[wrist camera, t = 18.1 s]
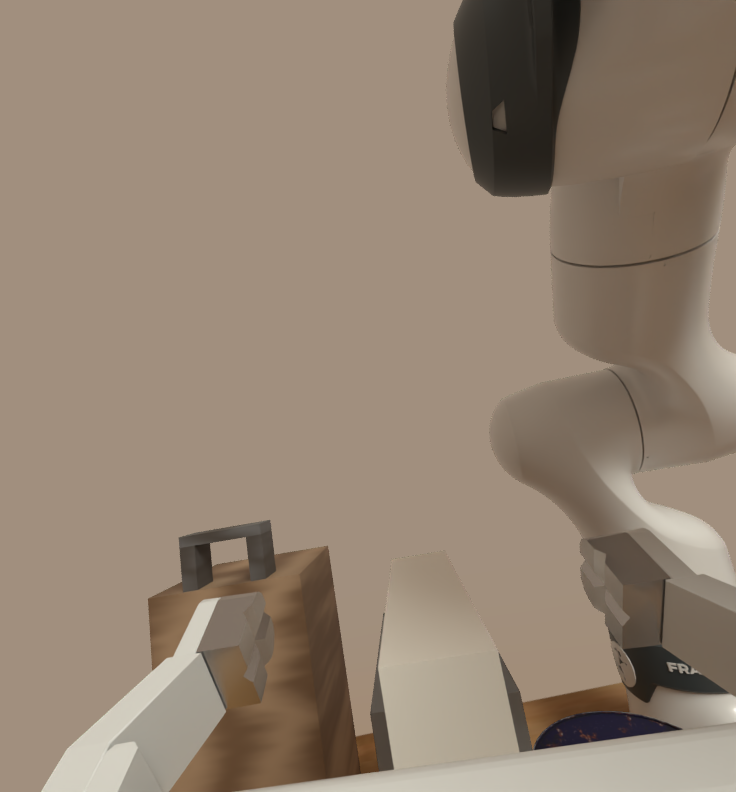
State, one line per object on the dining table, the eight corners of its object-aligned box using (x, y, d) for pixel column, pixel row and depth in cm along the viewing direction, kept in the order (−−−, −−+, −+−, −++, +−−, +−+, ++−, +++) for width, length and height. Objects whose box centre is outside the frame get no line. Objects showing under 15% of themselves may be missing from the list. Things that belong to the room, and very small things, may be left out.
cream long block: (455, 607, 22) (444, 550, 23) (527, 790, 9) (497, 649, 10) (401, 616, 22) (391, 559, 23) (400, 807, 10) (378, 667, 10)
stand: (370, 838, 38) (322, 505, 43) (355, 1005, 26) (292, 518, 32) (244, 855, 38) (213, 524, 44) (173, 1025, 26) (144, 543, 32)
